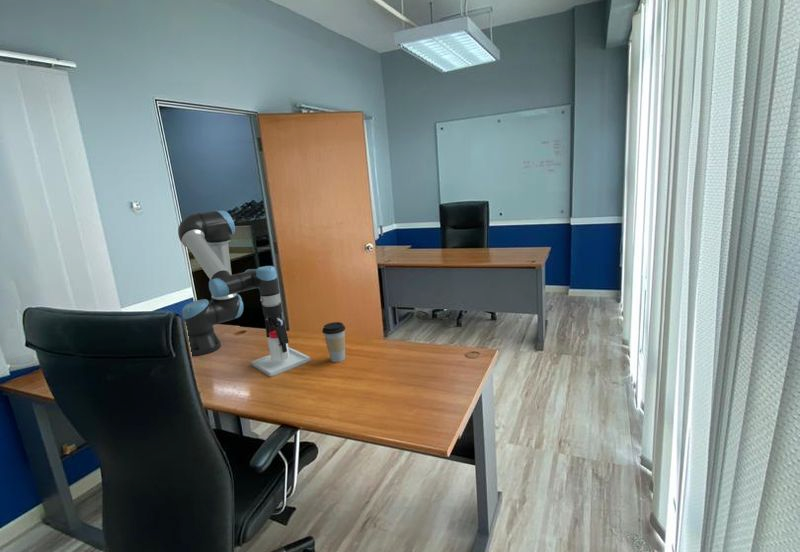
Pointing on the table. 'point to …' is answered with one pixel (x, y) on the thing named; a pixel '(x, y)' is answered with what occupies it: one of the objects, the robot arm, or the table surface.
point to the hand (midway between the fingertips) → (280, 356)
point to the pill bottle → (275, 347)
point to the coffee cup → (335, 340)
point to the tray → (281, 363)
